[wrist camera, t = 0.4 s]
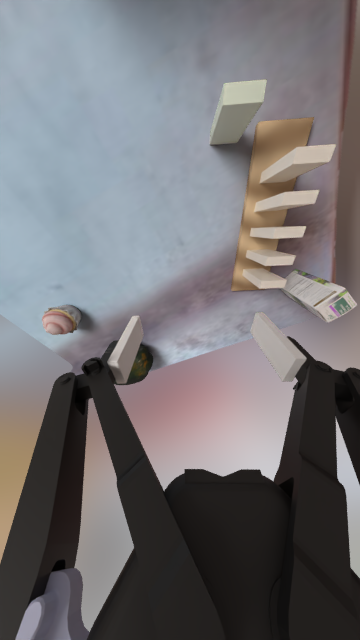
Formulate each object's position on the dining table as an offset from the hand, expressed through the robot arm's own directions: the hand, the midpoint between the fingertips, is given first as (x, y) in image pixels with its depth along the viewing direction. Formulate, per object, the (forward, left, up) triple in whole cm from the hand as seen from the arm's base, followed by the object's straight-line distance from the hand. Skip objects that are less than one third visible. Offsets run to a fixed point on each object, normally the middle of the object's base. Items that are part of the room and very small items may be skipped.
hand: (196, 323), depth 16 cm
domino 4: (-8, +17, -25) cm, 31 cm away
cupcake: (+12, -38, -26) cm, 48 cm away
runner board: (-9, +17, -26) cm, 32 cm away
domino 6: (+1, +17, -25) cm, 30 cm away
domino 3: (-12, +17, -25) cm, 32 cm away
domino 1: (-23, +7, -26) cm, 35 cm away
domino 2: (-17, +17, -25) cm, 34 cm away
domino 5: (-3, +17, -25) cm, 30 cm away
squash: (+30, -21, -26) cm, 45 cm away
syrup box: (+5, +29, -26) cm, 39 cm away
